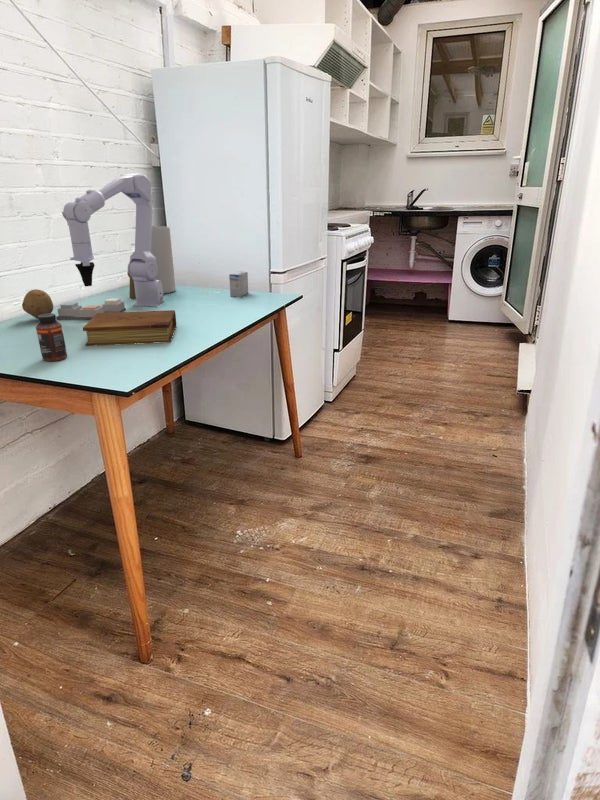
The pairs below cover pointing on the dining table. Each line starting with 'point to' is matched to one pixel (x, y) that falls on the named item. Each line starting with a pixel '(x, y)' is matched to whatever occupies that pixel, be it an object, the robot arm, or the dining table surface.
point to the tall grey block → (163, 257)
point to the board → (89, 311)
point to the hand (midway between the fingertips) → (88, 285)
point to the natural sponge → (37, 303)
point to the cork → (132, 288)
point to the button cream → (112, 301)
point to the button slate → (69, 305)
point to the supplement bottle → (51, 338)
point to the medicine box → (238, 284)
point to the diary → (130, 327)
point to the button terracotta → (92, 307)
